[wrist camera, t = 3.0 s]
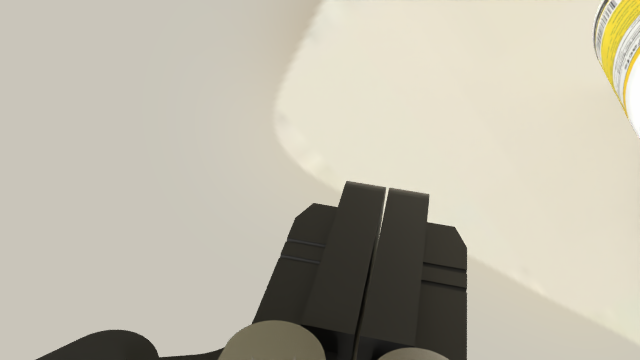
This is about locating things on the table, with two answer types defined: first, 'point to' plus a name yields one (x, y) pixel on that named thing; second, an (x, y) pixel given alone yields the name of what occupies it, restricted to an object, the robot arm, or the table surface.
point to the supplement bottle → (620, 52)
